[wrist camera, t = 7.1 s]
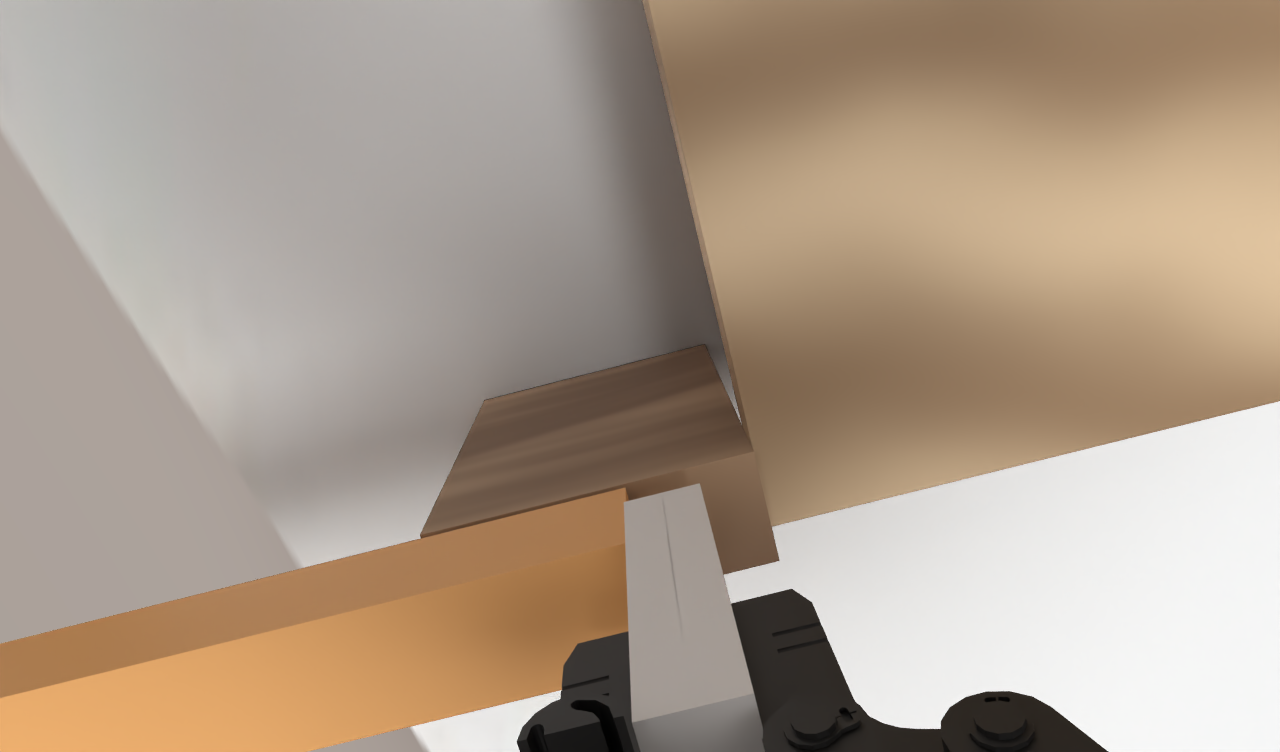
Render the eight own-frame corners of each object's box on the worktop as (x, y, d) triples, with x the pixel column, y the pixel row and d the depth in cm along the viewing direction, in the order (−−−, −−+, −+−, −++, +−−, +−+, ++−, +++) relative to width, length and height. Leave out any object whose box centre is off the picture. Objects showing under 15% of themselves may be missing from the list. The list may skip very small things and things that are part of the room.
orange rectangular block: (-35, 652, 18) (-134, 730, 16) (625, 487, 18) (627, 542, 15) (17, 752, 19) (-70, 843, 16) (655, 595, 18) (662, 665, 16)
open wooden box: (340, -55, 24) (170, -178, 15) (1298, -317, 23) (1761, -624, 14) (507, 473, 28) (456, 639, 19) (1325, 267, 27) (1697, 335, 18)
